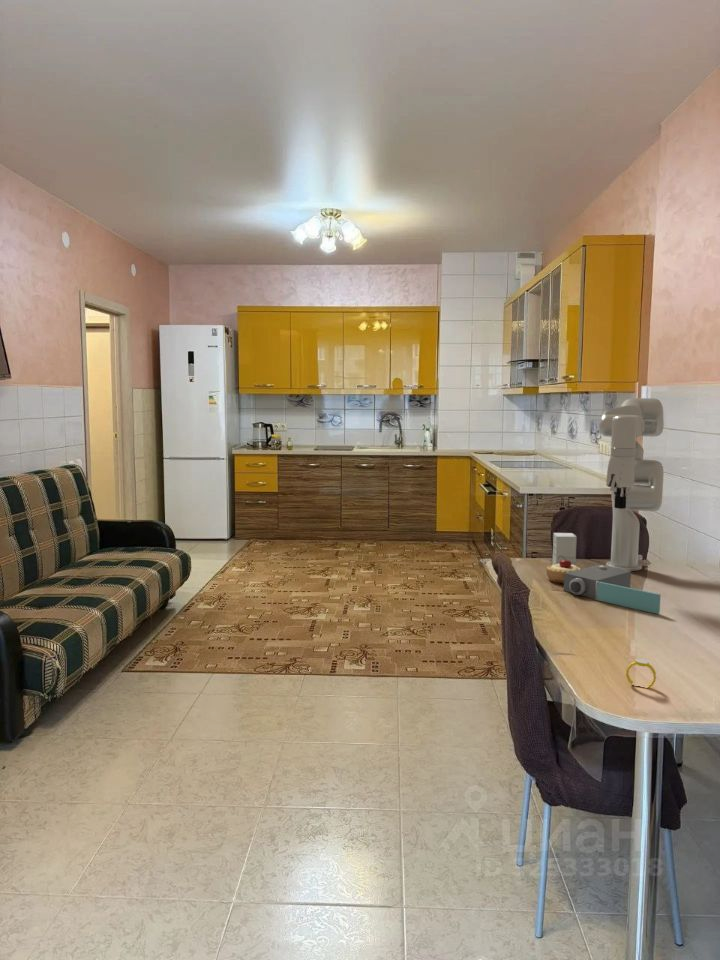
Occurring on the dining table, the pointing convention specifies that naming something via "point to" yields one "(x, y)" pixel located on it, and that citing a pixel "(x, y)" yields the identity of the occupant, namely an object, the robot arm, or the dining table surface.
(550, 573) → the pastry
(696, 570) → the dining table surface
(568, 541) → the supplement box
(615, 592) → the side door
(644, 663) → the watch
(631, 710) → the dining table surface
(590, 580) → the camera body
